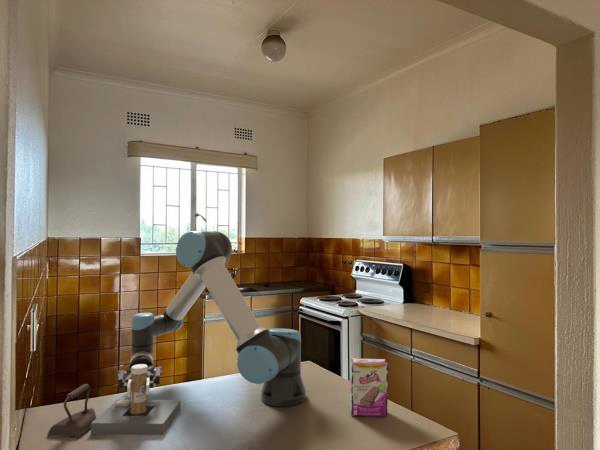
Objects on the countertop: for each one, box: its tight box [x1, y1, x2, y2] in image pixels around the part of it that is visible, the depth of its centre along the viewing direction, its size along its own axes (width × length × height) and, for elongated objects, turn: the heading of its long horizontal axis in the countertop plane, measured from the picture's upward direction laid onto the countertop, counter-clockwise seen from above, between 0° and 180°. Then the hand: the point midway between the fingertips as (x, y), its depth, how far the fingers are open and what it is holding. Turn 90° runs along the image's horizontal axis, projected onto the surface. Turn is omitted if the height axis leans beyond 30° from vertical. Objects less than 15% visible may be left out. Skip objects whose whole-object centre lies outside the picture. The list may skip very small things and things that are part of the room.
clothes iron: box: [47, 383, 97, 439], centre depth 116 cm, size 14×10×11 cm
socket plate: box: [90, 399, 182, 436], centre depth 119 cm, size 20×16×4 cm
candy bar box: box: [349, 357, 389, 418], centre depth 125 cm, size 11×5×16 cm, turn 89°
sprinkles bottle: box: [130, 364, 148, 414], centre depth 119 cm, size 5×5×13 cm
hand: (138, 391), depth 114 cm, fingers closed on sprinkles bottle, 4 cm apart
